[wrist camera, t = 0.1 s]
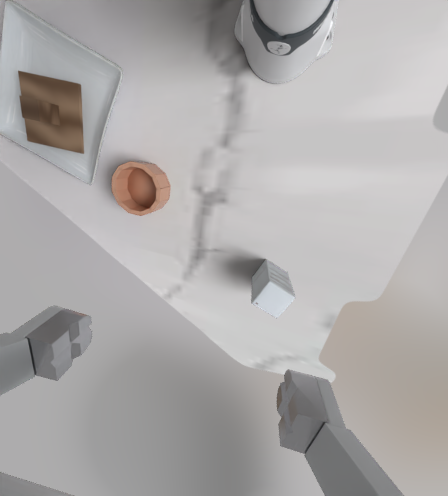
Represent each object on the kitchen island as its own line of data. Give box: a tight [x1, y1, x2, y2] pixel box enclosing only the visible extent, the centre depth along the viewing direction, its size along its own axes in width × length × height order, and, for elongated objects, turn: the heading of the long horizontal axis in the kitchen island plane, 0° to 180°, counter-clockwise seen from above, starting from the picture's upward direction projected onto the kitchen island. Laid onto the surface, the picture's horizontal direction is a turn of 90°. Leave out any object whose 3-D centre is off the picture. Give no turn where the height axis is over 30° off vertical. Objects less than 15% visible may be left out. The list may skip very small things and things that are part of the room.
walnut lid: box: [18, 71, 84, 154], centre depth 46 cm, size 14×14×6 cm
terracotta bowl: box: [112, 161, 170, 216], centre depth 53 cm, size 12×12×6 cm
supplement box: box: [251, 259, 296, 318], centre depth 54 cm, size 7×7×13 cm
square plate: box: [0, 0, 123, 185], centre depth 50 cm, size 27×27×4 cm
